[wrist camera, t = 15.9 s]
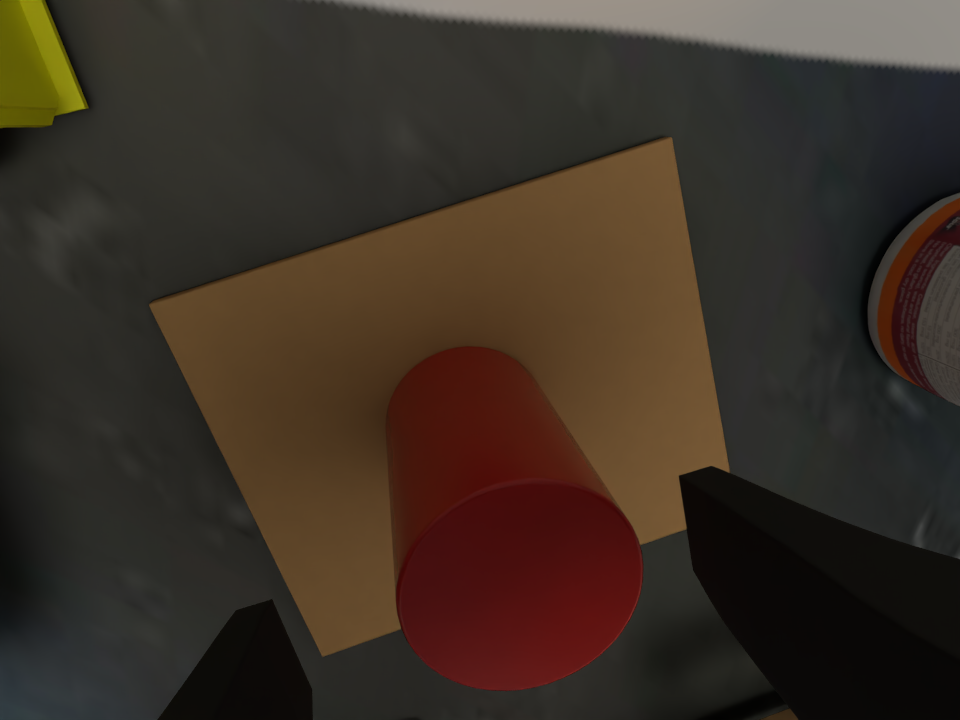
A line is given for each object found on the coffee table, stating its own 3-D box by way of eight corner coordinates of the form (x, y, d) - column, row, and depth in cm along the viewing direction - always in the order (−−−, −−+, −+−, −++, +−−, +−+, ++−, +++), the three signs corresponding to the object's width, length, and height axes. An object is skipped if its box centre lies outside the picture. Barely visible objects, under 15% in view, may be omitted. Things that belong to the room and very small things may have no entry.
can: (479, 519, 20) (539, 726, 13) (352, 442, 19) (343, 629, 12) (576, 403, 19) (694, 558, 12) (452, 312, 18) (505, 431, 11)
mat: (322, 648, 21) (321, 657, 21) (152, 300, 17) (147, 304, 17) (731, 505, 22) (737, 511, 22) (666, 136, 18) (672, 136, 17)
